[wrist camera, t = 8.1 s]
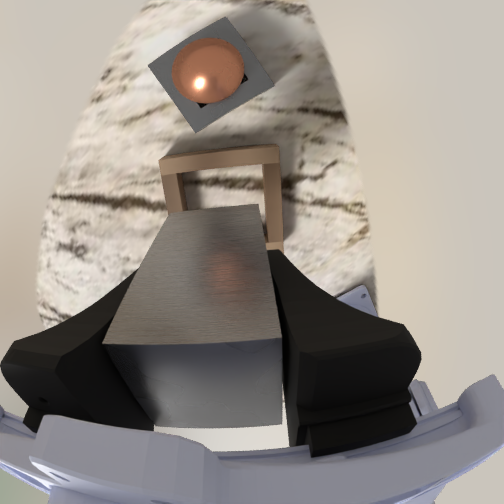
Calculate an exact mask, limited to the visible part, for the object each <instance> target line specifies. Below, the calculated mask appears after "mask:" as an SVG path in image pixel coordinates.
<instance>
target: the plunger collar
mask: <svg viewBox="0 0 504 504" xmlns="http://www.w3.org/2000/svg"><path fill="white" fill-rule="evenodd" d="M202 38H218V39H222V40H225V41H227V42H229V43H230V44H232V45H233V46H234V47H235V48H236V49H237V50H238V51H239V53H240V54H241V56H242V59H243V62H244V75H243V78H244V80H245V81H246V82H244V83H242V84H240V86H239V87H238V89H237V90H236V91H235V92H234V93H233V94H232V95H230V96H229V97H228V98H226V99H224V100H222V101H219V102H215V103H209V104H207V105H206V106H205V105H204V103H198V102H194V101H191V100H189V99H187V98H186V97H184V96H183V95H182V94H181V93H179V91H178V90H177V89H176V87H175V85H174V83H173V80H172V65H173V62H174V60H175V58H176V56H177V54H178V53H179V52H180V51H181V50H182V49H183V48H184V47H185V46H186V45H188V44H189V43H191V42H193V41H195V40H198V39H202ZM148 67H149V68H150V70H151V71H152V72H153V74H154V75H155V76H156V78H157V79H158V81H159V82H160V83H161V85H162V86H163V88H164V89H165V90H166V92H167V93H168V95H169V96H170V97H171V99H172V100H173V102H174V103H175V105H176V106H177V107H178V109H179V110H180V112H181V113H182V114H183V116H184V117H185V119H186V120H187V122H188V123H189V124H190V126H191V127H192V129H193V130H194V132H195V133H197V132H199V131H200V130H202V129H204V128H205V127H207V126H208V125H210V124H211V123H213V122H214V121H216V120H218V119H219V118H221V117H222V116H224V115H226V114H227V113H229V112H230V111H232V110H234V109H235V108H237V107H239V106H241V105H242V104H244V103H246V102H247V101H249V100H251V99H253V98H254V97H256V96H258V95H260V94H262V93H263V92H265V91H267V90H269V89H271V88H272V87H274V86H275V85H274V84H273V82H272V81H271V79H270V78H269V76H268V75H267V73H266V72H265V70H264V69H263V67H262V66H261V64H260V63H259V61H258V60H257V58H256V57H255V55H254V54H253V53H252V51H251V50H250V48H249V47H248V46H247V44H246V43H245V41H244V40H243V39H242V37H241V36H240V35H239V33H238V32H237V31H236V29H235V28H234V27H233V25H232V24H231V23H230V21H229V20H228V19H227V18H226V17H224V18H222V19H220V20H218V21H216V22H214V23H212V24H211V25H209V26H207V27H205V28H204V29H202V30H200V31H198V32H197V33H195V34H193V35H192V36H190V37H189V38H187V39H185V40H184V41H182V42H181V43H179V44H178V45H176V46H175V47H173V48H172V49H170V50H169V51H167V52H166V53H164V54H163V55H161V56H160V57H159V58H157V59H156V60H154V61H153V62H152V63H150V64H149V65H148Z"/></svg>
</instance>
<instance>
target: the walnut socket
mask: <svg viewBox="0 0 504 504" xmlns="http://www.w3.org/2000/svg"><path fill="white" fill-rule="evenodd" d="M256 164H262V170H263V184H264V199H265V214H266V229H267V233H265V234H264V238H265V243H266V249H267V250H274V249H279V250H280V251H282V253H283V254H284V247H283V218H282V195H281V174H280V156H279V146H278V145H277V144H266V145H252V146H241V147H230V148H221V149H212V150H204V151H196V152H189V153H182V154H175V155H169V156H164V157H163V158H161V159H160V160H159V166H160V172H161V178H162V183H163V189H164V195H165V200H166V205H167V210H168V215H169V214H170V213H174V212H182V211H188V210H187V204H186V198H185V192H184V185H183V179H182V172H190V171H197V170H206V169H214V168H223V167H233V166H244V165H256Z"/></svg>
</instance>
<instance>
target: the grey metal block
mask: <svg viewBox="0 0 504 504" xmlns="http://www.w3.org/2000/svg"><path fill="white" fill-rule="evenodd" d="M102 344H103V346H104V348H105V350H106V352H107V353H108V355H109V357H110V358H111V360H112V362H113V364H114V365H115V367H116V369H117V370H118V372H119V373H120V375H121V377H122V378H123V380H124V381H125V383H126V384H127V386H128V388H129V389H130V391H131V392H132V394H133V395H134V397H135V398H136V400H137V401H138V402H139V404H140V405H141V407H142V408H143V409H144V411H145V412H146V414H147V415H148V416H149V418H150V419H151V420H152V422H153V423H154V424H155V426H160V427H177V428H240V427H257V426H269V425H279V424H282V335H281V329H280V323H279V317H278V311H277V305H276V300H275V294H274V288H273V282H272V277H271V271H270V265H269V260H268V254H267V249H266V243H265V238H264V232H263V227H262V221H261V216H260V210H259V205H258V204H250V205H239V206H229V207H219V208H209V209H200V210H191V211H182V212H174V213H170V214H169V216H168V217H167V219H166V221H165V222H164V224H163V226H162V227H161V229H160V231H159V233H158V234H157V236H156V238H155V240H154V241H153V243H152V245H151V247H150V248H149V250H148V252H147V254H146V256H145V258H144V259H143V261H142V263H141V265H140V267H139V269H138V271H137V272H136V274H135V276H134V278H133V280H132V282H131V284H130V286H129V288H128V290H127V292H126V294H125V296H124V298H123V300H122V302H121V304H120V306H119V308H118V310H117V312H116V314H115V316H114V318H113V321H112V323H111V325H110V327H109V329H108V331H107V334H106V336H105V338H104V340H103V343H102Z"/></svg>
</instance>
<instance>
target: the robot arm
mask: <svg viewBox="0 0 504 504" xmlns="http://www.w3.org/2000/svg"><path fill="white" fill-rule="evenodd" d="M267 254H268V260H269V265H270V271H271V277H272V282H273V288H274V294H275V300H276V305H277V311H278V317H279V323H280V329H281V335H282V382H283V391H284V399H285V408H286V417H287V426H288V436H289V446H290V447H287V448H278V449H268V450H254V451H231V452H230V451H228V452H212V451H211V450H209V449H208V448H207V447H205V446H204V445H203V444H201V443H198V442H196V441H193V440H189V439H187V438H184V437H181V436H177V435H171V434H165V433H159V432H154V423H153V422H152V420H151V419H150V418H149V416H148V415H147V414H146V412H145V411H144V409H143V408H142V407H141V405H140V404H139V402H138V401H137V400H136V398H135V397H134V395H133V394H132V392H131V391H130V389H129V388H128V386H127V384H126V383H125V381H124V380H123V378H122V377H121V375H120V373H119V372H118V370H117V369H116V367H115V365H114V364H113V362H112V360H111V358H110V357H109V355H108V353H107V352H106V350H105V348H104V346H103V344H102V343H103V340H104V338H105V336H106V334H107V331H108V329H109V327H110V325H111V323H112V321H113V318H114V316H115V314H116V312H117V310H118V308H119V306H120V304H121V302H122V300H123V298H124V296H125V294H126V292H127V290H128V288H129V286H130V284H131V282H132V280H133V278H134V276H135V274H136V272H137V271H138V269H139V268H138V269H137V270H136V271H135V272H133V273H132V274H131V275H130V276H129V277H127V278H126V279H125V280H124V281H123V282H121V283H120V284H119V285H118V286H116V287H115V288H114V289H113V290H111V291H110V292H109V293H108V294H106V295H105V296H104V297H102V298H101V299H100V300H98V301H97V302H95V303H94V304H93V305H91V306H90V307H88V308H86V309H85V310H83V311H82V312H80V313H78V314H77V315H75V316H73V317H71V318H69V319H67V320H66V321H64V322H62V323H60V324H58V325H56V326H54V327H52V328H49V329H47V330H45V331H42V332H40V333H37V334H34V335H31V336H28V337H25V338H23V339H20V340H16V341H14V342H13V344H12V345H11V347H10V348H9V350H8V351H7V353H6V355H5V356H4V358H3V360H2V361H1V364H0V367H1V371H2V374H3V376H4V377H5V379H6V381H7V382H8V383H9V385H10V386H11V387H12V388H13V389H14V391H15V392H16V393H17V394H18V395H19V396H20V397H21V398H22V400H23V401H24V402H25V403H26V404H27V405H28V406H29V408H28V410H27V413H26V415H25V417H24V418H22V417H19V416H16V415H14V414H11V413H9V412H6V411H4V409H3V408H2V407H1V405H0V468H1V469H3V470H4V471H6V472H8V473H9V474H11V475H13V476H15V477H17V478H18V479H20V480H22V481H24V482H25V483H27V484H29V485H31V486H33V487H35V488H37V489H39V490H41V491H43V492H45V493H47V494H49V495H50V496H49V501H48V504H435V502H434V500H435V499H436V497H437V496H438V495H439V493H440V492H441V490H442V489H443V488H444V486H445V485H446V483H448V482H450V481H452V480H454V479H456V478H458V477H459V476H461V475H463V474H464V473H466V472H468V471H470V470H471V469H473V468H475V467H476V466H478V465H480V464H481V463H483V462H484V461H486V460H487V459H488V458H490V457H491V456H492V455H493V454H495V453H496V452H497V451H499V450H500V449H501V448H502V447H503V446H504V390H503V388H502V386H501V385H500V383H499V381H498V380H497V378H496V376H495V375H490V376H488V377H486V378H484V379H482V380H480V381H478V382H476V383H474V384H472V385H471V386H469V387H468V388H467V389H466V390H465V391H464V392H463V393H462V394H461V396H460V397H459V399H458V401H457V402H455V403H452V404H450V405H448V406H445V407H443V408H441V409H438V407H437V405H436V403H435V401H434V399H433V397H432V395H431V393H430V391H429V389H428V387H427V385H426V383H425V382H423V381H418V380H417V379H415V380H413V378H414V376H415V374H416V372H417V370H418V368H419V365H420V362H421V351H420V350H419V348H418V346H417V345H416V342H415V341H414V339H413V337H412V335H411V334H410V333H409V331H408V330H407V329H406V327H405V326H404V324H400V323H397V322H393V321H390V320H386V319H383V318H379V317H378V315H377V312H376V310H375V307H374V305H373V302H372V300H371V297H370V295H369V293H368V290H367V288H366V287H365V286H364V285H361V286H358V287H357V288H355V289H353V290H351V291H349V292H347V293H345V294H344V295H342V296H340V297H338V298H335V297H333V296H331V295H330V294H328V293H327V292H325V291H324V290H322V289H321V288H319V287H318V286H316V285H315V284H314V283H313V282H311V281H310V280H309V279H308V278H307V277H306V276H304V275H303V274H302V273H301V272H300V271H299V270H298V269H297V268H296V267H295V266H294V265H293V264H292V263H291V262H290V261H289V260H288V258H287V257H286V256H285V255H284V254H283V253H282V251H280V250H279V249H274V250H267ZM362 294H364V295H363V296H362ZM412 380H413V381H412Z"/></svg>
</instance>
